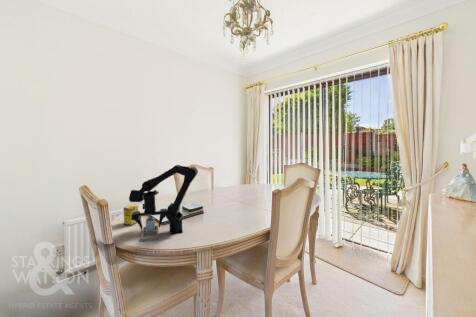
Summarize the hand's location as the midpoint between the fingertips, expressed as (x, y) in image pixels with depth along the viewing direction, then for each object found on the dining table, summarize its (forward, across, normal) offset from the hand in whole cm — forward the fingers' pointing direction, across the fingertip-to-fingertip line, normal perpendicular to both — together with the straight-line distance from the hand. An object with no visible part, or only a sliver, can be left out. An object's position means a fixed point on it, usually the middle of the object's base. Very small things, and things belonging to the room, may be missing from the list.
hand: (150, 228), depth 120 cm
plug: (+2, 0, 0) cm, 2 cm away
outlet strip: (+2, 0, +4) cm, 4 cm away
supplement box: (+2, +12, -15) cm, 20 cm away
